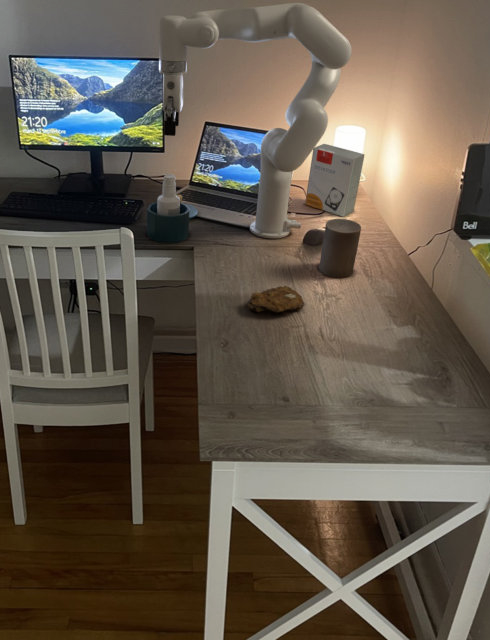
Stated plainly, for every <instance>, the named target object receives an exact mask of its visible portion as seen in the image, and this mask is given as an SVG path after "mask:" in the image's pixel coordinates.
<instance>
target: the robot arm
mask: <svg viewBox="0 0 490 640" xmlns="http://www.w3.org/2000/svg"><path fill="white" fill-rule="evenodd" d="M158 25H159V27H158V29H159V30H158V31H159V32H158V35H159V38H158V45H159V46H158V72H159V74H162V111H163V112H164V120H163V135H164V136H170V137H175V136H176V134H177V133H176V132H177V127H178V126H179V125H180V113H181V112H182V110H183V106H184V75H186V74H187V73H188V71H187V69H188V47H191V48H198V49H208V48H211V47H212V46H214V45H215V44H216V43H217V41H218V40H238V41H241V42H242V41H243V42H247V43H262V42H269V41H277V40H287V39H295V40H296V41H298V42H299V44H301V45H302V46H303V48H305V49H306V50H307V51H308V52H309V55H310V58H311V69H310V72H309V74H308V76H307V78H306V79H305V81H304V83H303V85H302V87H300V89H299V91H298V92H297V94H296V95H295V96H294V98H293V99H292V101H290V103H289V105H288V106H287V109H286V110H285V116H284V117H285V121H286V124H288V126H289V128H288V129H285V128H281V127H275V128H271V129H270V130H268V131H267V132H266V133H265V135H264V136H263V137H262V139H261V144H260V170H259V171H260V172H259V183H258V190H257V192H258V193H257V201H256V211H255V212H256V213H255V220H254V221H253V222H251V223H250V224H249V231H250V232H251V233H252V234H253V235H255V236H257V237H260V238H263V239H281V238H285V237H287V236H289V235H290V233H291V229H295V230H296V229H297V230H301V228H302V222H298V221H297V219H290V218H288V209H289V201H290V194H291V187H292V179H293V172H295V171H296V170H297V169H299V168H300V167H301V166H302V165H303V164H304V162H305V161H306V160H307V158H308V157H309V156H310V154H312V153H313V149H314V148H315V147H317V146H318V143H319V142H320V141H321V139H322V137H323V136H324V134H325V132H326V130H327V128H328V125H329V116H328V113H327V111H326V109H325V107H326V105H327V104H328V102H329V101H330V99H331V98H332V96H333V94H334V93H335V91H336V89H337V88H338V85H339V82H340V79H341V72H342V70H341V69H342V68H343V67H345V66H346V65H347V64H348V62H349V61H350V59H351V56H352V45H351V42H350V40H348V38H347V37H346V36H345V35H344V34H343V33H341V32H340V31H339V30H338V29H337V28H336V27H335V26H334V25H333V24H332V23H331V22H330V21H329V20H328V19H327V18H326V17H325V16H324V15H323V14H322V13H321V12H320V11H318V9H316V8H315V7H313V6H310V5H309V4H306V3H302V2H291V3H282V4H274V5H263V6H254V7H241V8H224V9H223V8H222V9H213V10H203V11H196V12H193V13H192V14H190V15H189V16H188V17H187V18H186V17H185V16H182V15H173V14H172V15H171V14H170V15H163V16H162V17H160V20H159V24H158Z"/></svg>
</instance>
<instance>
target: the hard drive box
mask: <svg viewBox="0 0 490 640" xmlns="http://www.w3.org/2000/svg"><path fill="white" fill-rule="evenodd" d="M311 154H312V155H311V162H310V169H309V175H308V183H307V188H306V195H305V201H304V205H306V206H309V207H312V208H315V209H318V210H322V211H325V212H328V213H331V214H333V215H337V216H340V217H343V218H344V217H345V216H347V215H350V214H352V213H353V212H355V206H356V201H357V196H358V191H359V185H360V181H361V176H362V170H363V165H364V161H365V156H366V155H365V154H364V153H361V152H358V151H353V150H350V149H346V148H342V147H339V146H335V145H331V144H327V143H322V144H319V145H316V146H315V147H314V149H313V150H312V153H311Z"/></svg>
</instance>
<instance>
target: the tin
mask: <svg viewBox="0 0 490 640" xmlns="http://www.w3.org/2000/svg"><path fill="white" fill-rule="evenodd" d="M186 204H187V203H183V202H182V203H181V202H180V215H173V216H167V215H160V214H157V201H154V202H152V203H150V204H149V205H147V208H146V210H147V211H146V213H147V215H146V216H147V217H146V234H147V237H148V238H149V239H150V240H152V241H154V242H158V243H164V244H174V243H180V242H183V241H185V240H186V239H188V237H189V233H190V232H189V231H190V219H189V213H190V208H189V207H188V206H187V205H188V204H187V205H186Z"/></svg>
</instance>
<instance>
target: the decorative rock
mask: <svg viewBox="0 0 490 640" xmlns="http://www.w3.org/2000/svg"><path fill="white" fill-rule="evenodd" d="M304 304H305V302H304V300H303V296H302V295H300V294H299V293H298V292H297V291H296V290H295V289H292V287H290V286H287V285H284V286H277V287H272V288H269V289H266V290H263V291H261V292H252V293H251V297H250V301H248V303H247V304H246V306H248V309H249V310H252V311H254V312H255V313H260V312H265V311H271V312H272V313H277V314H278V313H280V312H281V313H282V312H286V311H288V310H290V311H293V310H297V311H301V310H302V309H303V307H305V306H304Z"/></svg>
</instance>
